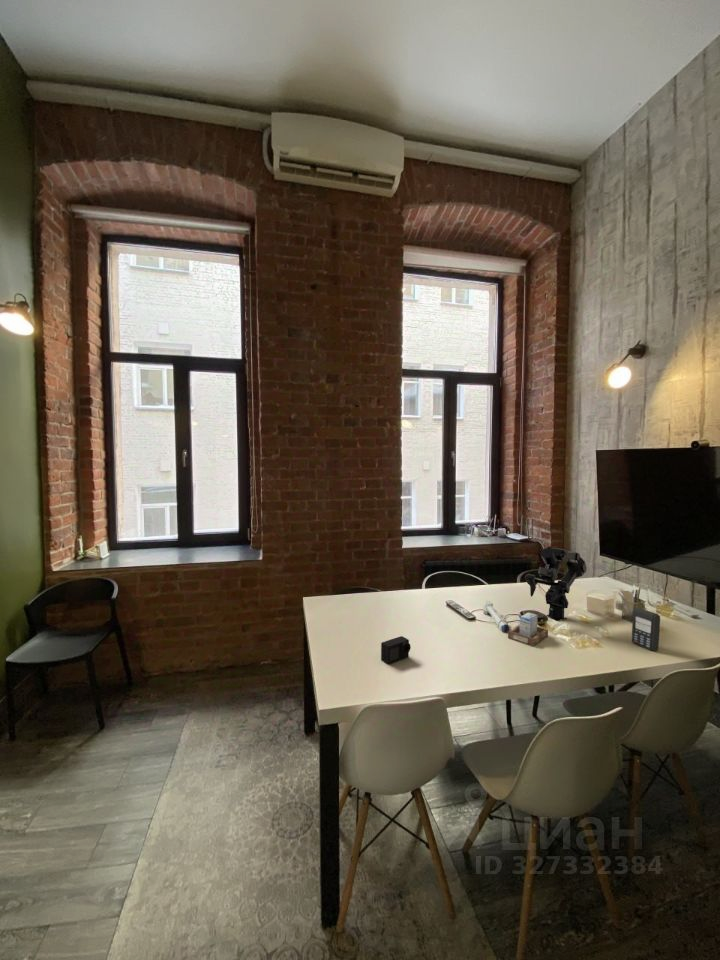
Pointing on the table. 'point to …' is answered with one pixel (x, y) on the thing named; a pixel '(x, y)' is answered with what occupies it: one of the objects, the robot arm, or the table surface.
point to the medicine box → (528, 624)
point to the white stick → (495, 616)
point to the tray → (533, 641)
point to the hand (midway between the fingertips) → (541, 598)
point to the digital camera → (395, 650)
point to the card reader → (645, 629)
